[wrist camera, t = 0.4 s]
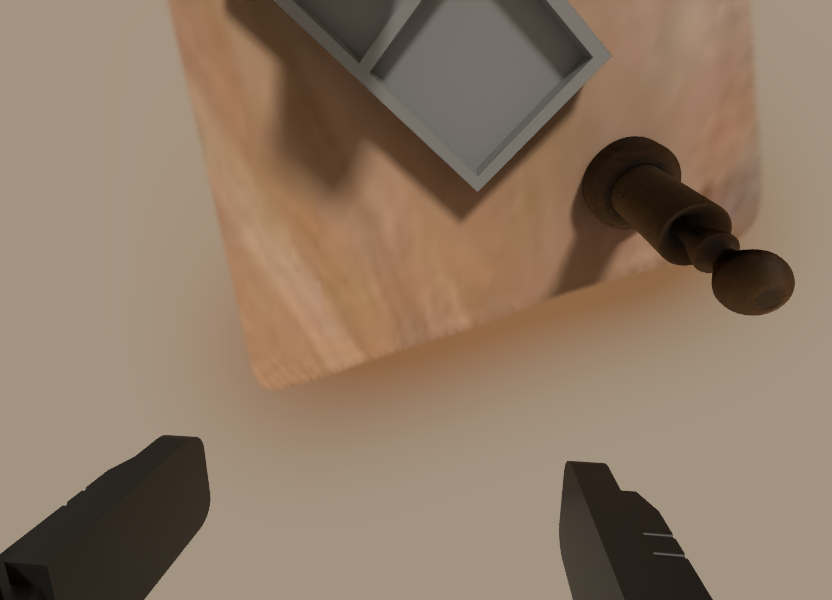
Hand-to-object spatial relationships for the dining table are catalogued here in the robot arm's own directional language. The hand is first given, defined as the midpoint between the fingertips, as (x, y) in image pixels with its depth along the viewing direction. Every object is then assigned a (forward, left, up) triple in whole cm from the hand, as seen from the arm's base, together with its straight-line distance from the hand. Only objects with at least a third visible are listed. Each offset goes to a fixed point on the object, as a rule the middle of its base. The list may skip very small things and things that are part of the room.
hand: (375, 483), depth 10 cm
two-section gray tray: (-7, +7, -29) cm, 31 cm away
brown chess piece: (+13, +9, -29) cm, 33 cm away
